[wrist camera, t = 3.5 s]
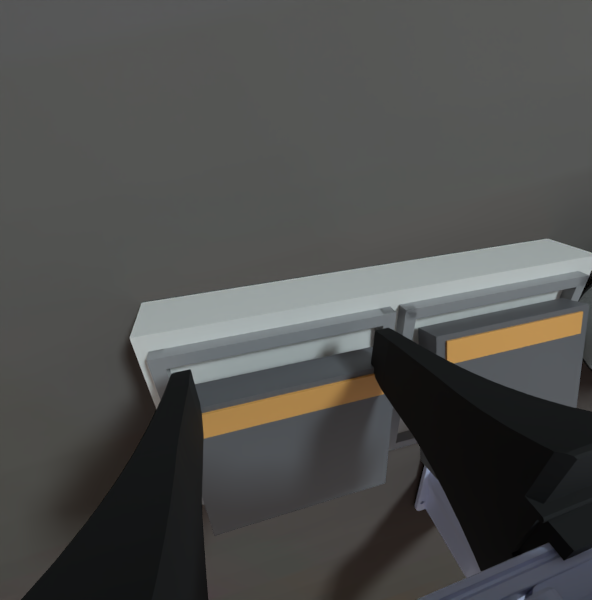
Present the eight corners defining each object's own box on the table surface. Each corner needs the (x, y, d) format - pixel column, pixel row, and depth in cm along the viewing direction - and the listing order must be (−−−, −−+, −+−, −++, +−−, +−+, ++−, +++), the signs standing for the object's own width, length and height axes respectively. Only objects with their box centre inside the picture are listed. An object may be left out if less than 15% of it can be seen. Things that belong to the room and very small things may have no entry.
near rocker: (373, 460, 18) (386, 484, 17) (213, 506, 16) (214, 538, 15) (381, 344, 15) (398, 363, 13) (178, 387, 13) (175, 414, 12)
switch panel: (497, 381, 26) (542, 419, 22) (193, 459, 21) (192, 523, 18) (547, 238, 20) (618, 261, 16) (141, 302, 15) (124, 353, 12)
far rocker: (549, 421, 20) (574, 437, 18) (420, 460, 18) (438, 480, 16) (561, 298, 18) (591, 304, 16) (418, 327, 16) (437, 337, 14)
